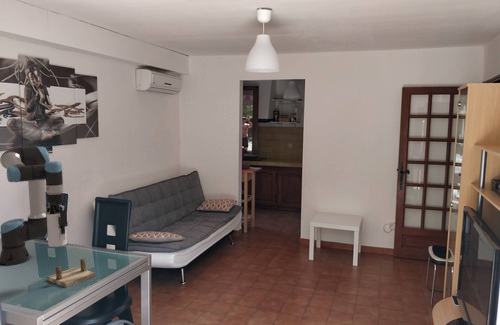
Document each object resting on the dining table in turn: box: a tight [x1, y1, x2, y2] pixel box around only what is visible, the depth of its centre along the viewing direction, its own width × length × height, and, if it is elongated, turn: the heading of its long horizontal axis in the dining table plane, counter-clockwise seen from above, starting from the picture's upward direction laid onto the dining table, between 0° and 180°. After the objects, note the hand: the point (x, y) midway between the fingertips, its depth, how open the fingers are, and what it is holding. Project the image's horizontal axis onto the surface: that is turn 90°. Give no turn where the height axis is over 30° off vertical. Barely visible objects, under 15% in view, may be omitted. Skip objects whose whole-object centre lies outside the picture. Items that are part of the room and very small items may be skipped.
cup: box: [47, 212, 68, 248], centre depth 201 cm, size 8×8×16 cm
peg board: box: [47, 258, 96, 288], centre depth 206 cm, size 16×16×8 cm
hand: (57, 238), depth 201 cm, fingers closed on cup, 8 cm apart
